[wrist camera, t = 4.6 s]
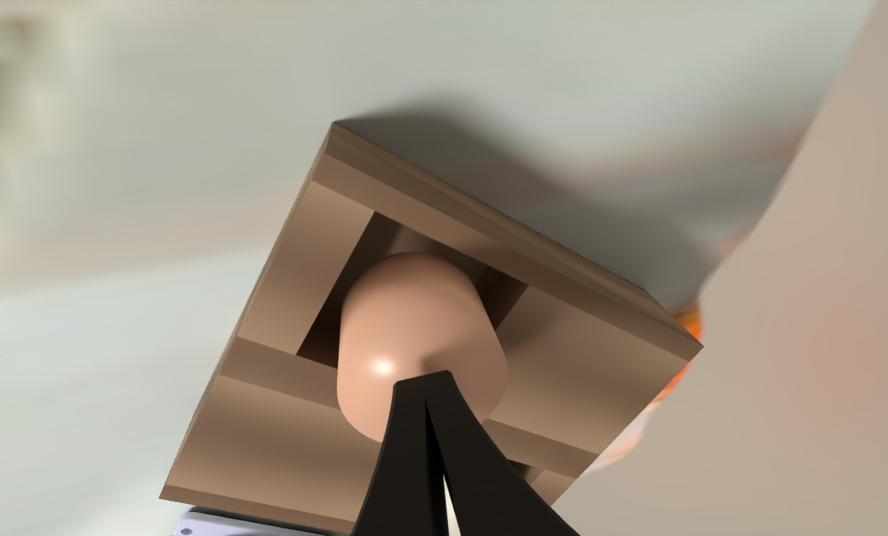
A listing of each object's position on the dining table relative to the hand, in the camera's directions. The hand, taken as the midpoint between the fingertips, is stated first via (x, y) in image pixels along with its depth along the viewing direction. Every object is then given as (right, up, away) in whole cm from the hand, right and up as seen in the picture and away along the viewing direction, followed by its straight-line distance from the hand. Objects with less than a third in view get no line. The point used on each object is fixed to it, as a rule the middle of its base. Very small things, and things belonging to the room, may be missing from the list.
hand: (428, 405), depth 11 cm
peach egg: (-1, +2, +4) cm, 4 cm away
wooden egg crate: (0, 0, +9) cm, 9 cm away
